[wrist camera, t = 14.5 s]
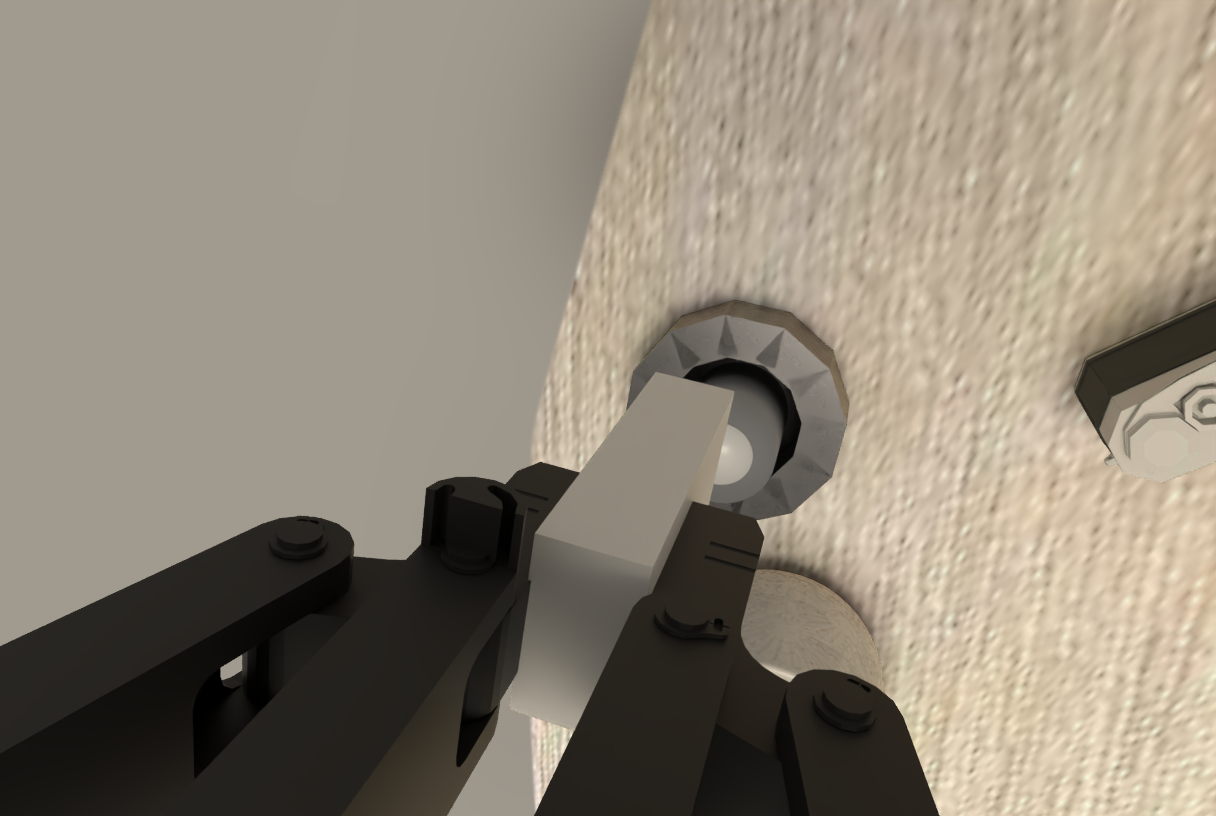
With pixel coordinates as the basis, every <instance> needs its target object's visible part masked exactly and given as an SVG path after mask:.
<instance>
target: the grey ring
mask: <svg viewBox="0 0 1216 816" xmlns="http://www.w3.org/2000/svg"><path fill="white" fill-rule="evenodd" d="M732 362H743V363H749V364H752V365H755V366H758V367H760V368H762V369H764V370H765V371H767V372H768V373H770V374H771V375H772V376H773V377H774V378H775V379H776V380H777V381H778V383H779V384H780V385H781V387H782V389H783V390H784V393H785V395H786V398H787V402H788V418H787V423H786V426H785V430H784V433H783V437H782V441H781V444H780V448H779V451H778V455H777V458H776V462H775V466H774V469H773V472H772V474H771V476H770V478H769V480H768V482H767V483H766V484H765V486H764V487H763V488H762V489H761V490H760V491H758V492H757V493H756V494H754V495H753V496H751V497H749V498H747V499H745V500H742V501H738V502H733V503H716V502H711V501H710V502H709V506H712V507H716V508H720V509H723V510H727V511H731V512H734V513H738V514H742V515H745V516H749V517H753V518H755V519H756V520H760V519H765V518H770V517H775V516H780V515H785V514H789V513H792V512H793V511H794V510H795V509H796V508H798V507H799V506H800V505H801V504H802V503H803V502H804V501H805V500H807V499H808V498H809V497H810V496H811V495H812V494H813V493H814V492H816V491H817V490H818V489H819V488H820V487H821V486H822V485H823V484H825V483H826V482H827V481H828V480H829V479H830V478H831V477H832V475H833V471H834V468H835V464H836V461H837V457H838V453H839V450H840V446H841V443H842V439H843V436H844V432H845V429H846V425H847V418H848V409H849V401H848V398H847V395H846V391H845V388H844V385H843V382H842V378H841V375H840V372H839V369H838V365H837V362H836V359H835V355H834V352H833V350H831V349H830V348H829V347H828V346H827V345H826V344H825V343H824V342H823V341H821V340H820V339H819V338H818V337H817V336H816V335H815V334H814V333H813V332H812V331H810V330H809V329H808V328H807V327H806V326H805V325H804V324H803V323H802V322H800V321H799V320H798V319H797V318H796V317H795V316H794V315H793V314H792V313H790V312H785V311H781V310H776V309H772V308H768V307H763V306H759V305H754V304H750V303H746V302H741V301H737V300H733V301H730V302H727V303H723V304H720V305H717V306H713V307H710V308H707V309H703V310H700V311H697V312H693V313H690V314H687V315H683V316H682V317H681V318H680V319H679V320H678V321H677V322H676V323H675V324H674V326H673V327H672V328H671V329H670V330H669V331H668V332H667V333H666V334H665V335H664V337H663V338H662V339H661V340H660V341H659V342H658V343H657V344H656V345H655V346H654V347H653V349H652V350H651V351H650V352H649V353H648V354H647V355H646V356H645V358H644V359H643V360H642V361H641V363H640V364H639V365H638V366H637V367H636V369H635V370H634V371H633V376H632V382H631V387H630V393H629V398H628V404H627V409H626V411H627V410H628V408H629V407H630V406H631V404H632V403H633V402H634V400H635V399H636V398H637V396H638V395H639V394H640V392H641V391H642V390H643V388H644V387H645V386H646V384H647V383H648V382H649V380H650V379H651V378H652V376H653V375H654V374H655V372H659V373H663V374H667V375H671V376H675V377H679V378H683V379H687V380H691V381H695V382H698V381H699V380H700V379H701V378H702V376H704V375H705V374H706V373H707V372H708V371H710V370H711V369H713V368H715V367H717V366H719V365H722V364H726V363H732Z"/></svg>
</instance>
